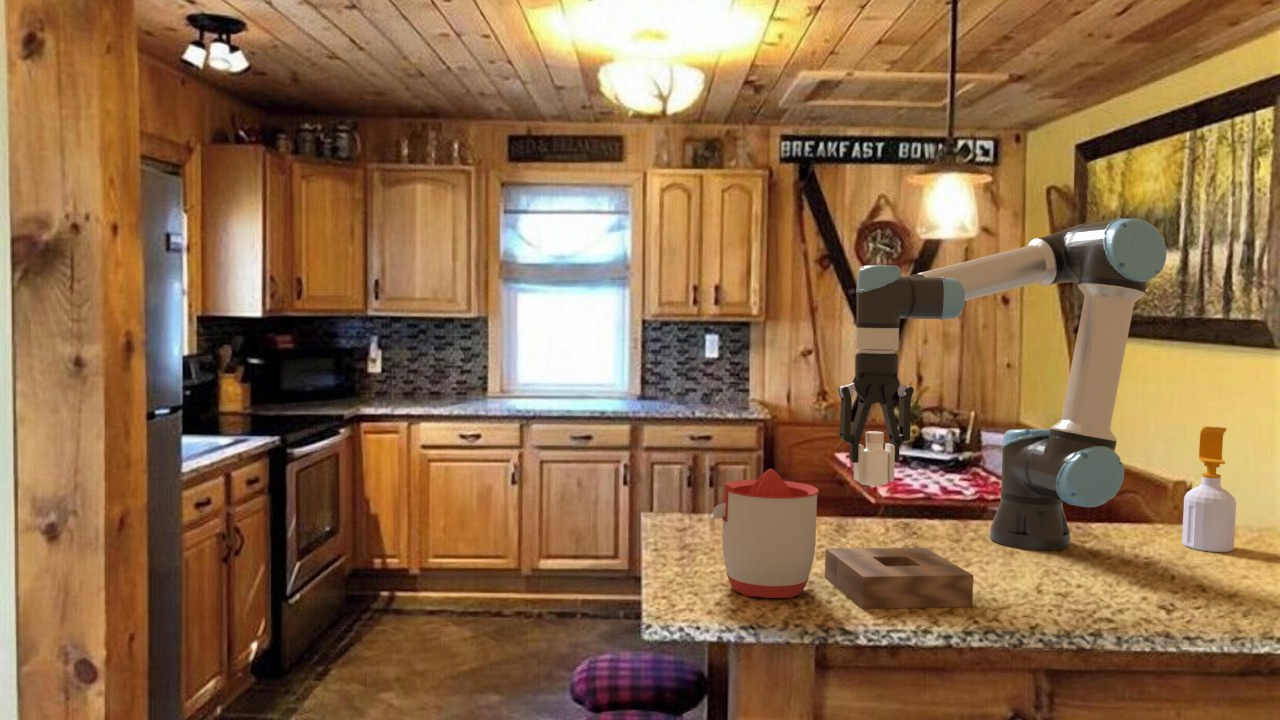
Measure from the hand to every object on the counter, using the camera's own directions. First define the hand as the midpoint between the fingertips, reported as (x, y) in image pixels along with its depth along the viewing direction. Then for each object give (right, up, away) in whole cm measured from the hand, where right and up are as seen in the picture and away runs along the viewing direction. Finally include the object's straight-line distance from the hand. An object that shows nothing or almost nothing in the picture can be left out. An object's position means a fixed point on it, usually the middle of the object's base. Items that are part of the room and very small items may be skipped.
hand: (873, 480), depth 181 cm
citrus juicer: (-22, -16, -17) cm, 33 cm away
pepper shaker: (0, -1, 0) cm, 1 cm away
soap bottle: (+72, -16, +21) cm, 77 cm away
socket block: (0, -16, -16) cm, 23 cm away
